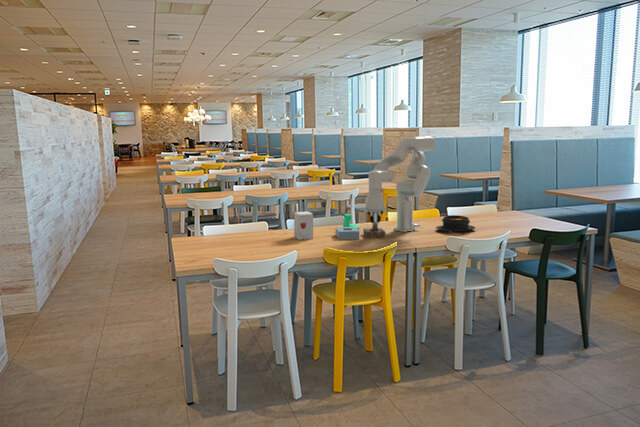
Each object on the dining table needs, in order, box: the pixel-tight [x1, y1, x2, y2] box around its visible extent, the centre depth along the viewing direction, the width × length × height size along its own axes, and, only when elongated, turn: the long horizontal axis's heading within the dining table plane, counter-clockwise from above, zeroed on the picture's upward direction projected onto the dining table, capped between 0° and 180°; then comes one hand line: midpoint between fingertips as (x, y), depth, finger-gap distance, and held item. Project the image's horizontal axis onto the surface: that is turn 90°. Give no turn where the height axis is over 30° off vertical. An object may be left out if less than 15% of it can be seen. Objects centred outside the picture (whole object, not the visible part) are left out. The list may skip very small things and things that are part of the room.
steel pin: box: [371, 211, 379, 231], centre depth 288 cm, size 3×3×11 cm
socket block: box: [335, 226, 360, 240], centre depth 288 cm, size 12×12×4 cm
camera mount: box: [342, 213, 360, 231], centre depth 306 cm, size 12×8×10 cm, turn 11°
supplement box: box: [293, 211, 314, 241], centre depth 285 cm, size 9×9×15 cm
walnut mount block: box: [363, 227, 386, 239], centre depth 289 cm, size 11×11×4 cm
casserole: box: [435, 214, 476, 233], centre depth 302 cm, size 25×19×8 cm
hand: (375, 222), depth 288 cm, fingers closed on steel pin, 3 cm apart
